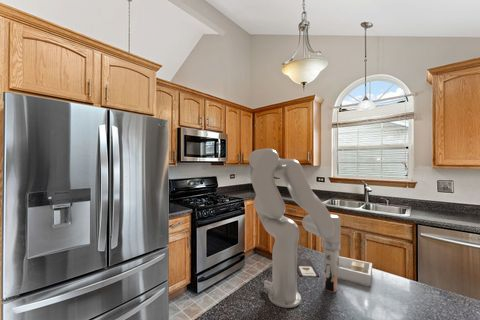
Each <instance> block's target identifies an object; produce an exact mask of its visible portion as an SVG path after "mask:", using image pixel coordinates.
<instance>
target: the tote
mask: <svg viewBox="0 0 480 320" xmlns="http://www.w3.org/2000/svg"><path fill="white" fill-rule="evenodd" d="M352 261H355V262H359V263H364V273H362V272H358V271H354V270H351V265H352ZM339 263H340V268H339V271H338V273H337V280H343V281H346V282H351V283H354V284H358V285H362V286H365V287H368V286H369V287H368V288H371V286H372V285H371V284H372V277H373V263H372V262H367V261H363V260H358V259H355V258H349V257H344V256H340V255H339Z"/></svg>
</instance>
